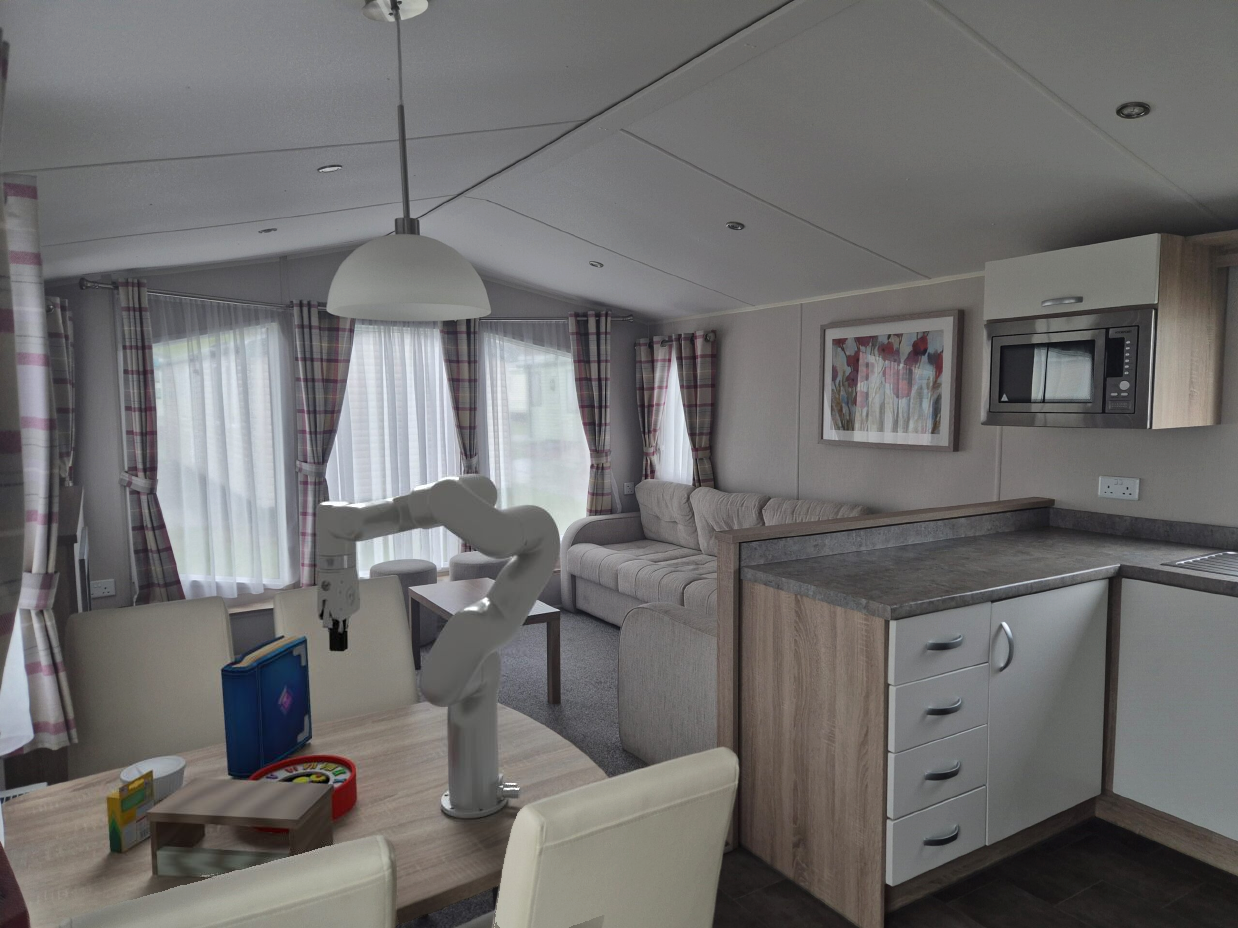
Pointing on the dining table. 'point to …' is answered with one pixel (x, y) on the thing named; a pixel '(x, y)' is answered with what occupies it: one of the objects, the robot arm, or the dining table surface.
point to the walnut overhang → (236, 822)
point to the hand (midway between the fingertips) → (338, 649)
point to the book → (266, 705)
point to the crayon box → (130, 813)
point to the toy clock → (315, 780)
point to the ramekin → (158, 774)
